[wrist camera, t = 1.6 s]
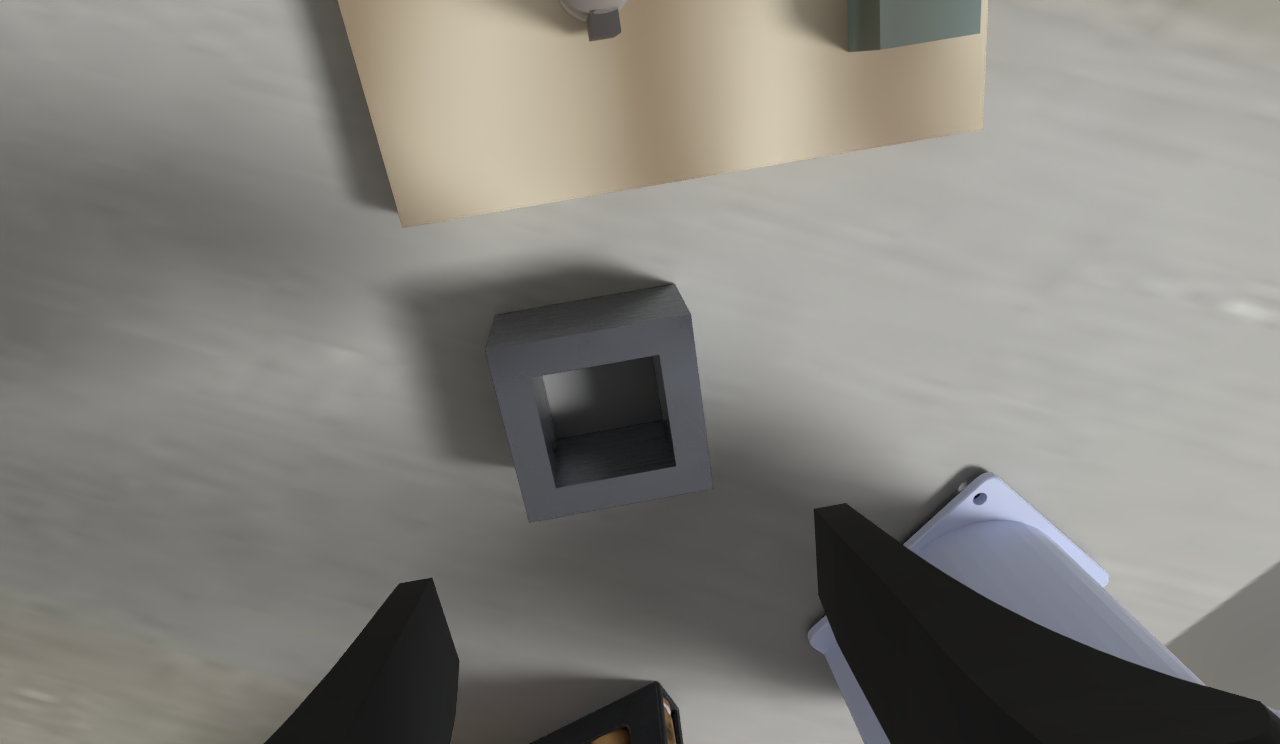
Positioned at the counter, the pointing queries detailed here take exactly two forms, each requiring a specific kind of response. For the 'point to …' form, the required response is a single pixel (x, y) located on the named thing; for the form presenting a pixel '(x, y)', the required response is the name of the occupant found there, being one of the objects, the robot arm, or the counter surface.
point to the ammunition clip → (626, 722)
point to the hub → (614, 458)
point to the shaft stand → (647, 90)
